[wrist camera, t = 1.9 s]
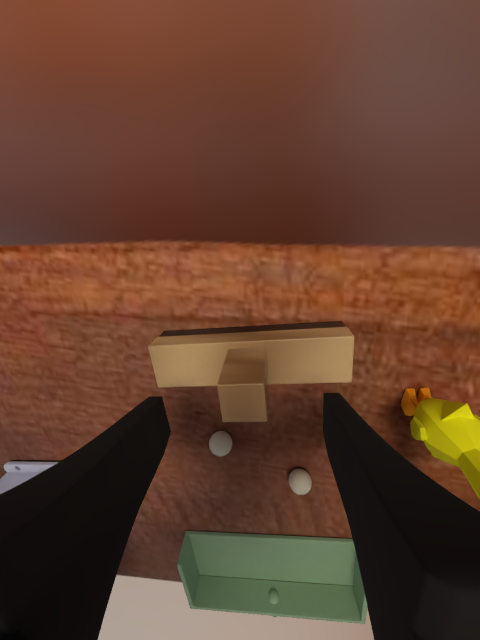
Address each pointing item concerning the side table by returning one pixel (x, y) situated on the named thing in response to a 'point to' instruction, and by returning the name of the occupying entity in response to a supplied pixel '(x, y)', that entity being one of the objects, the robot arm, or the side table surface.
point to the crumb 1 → (220, 443)
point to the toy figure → (446, 431)
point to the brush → (253, 361)
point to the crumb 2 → (300, 481)
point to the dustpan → (273, 575)
